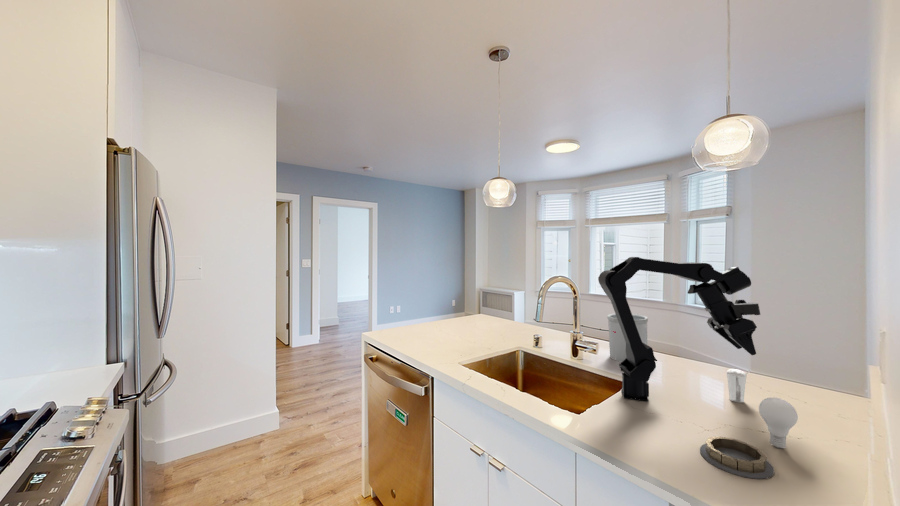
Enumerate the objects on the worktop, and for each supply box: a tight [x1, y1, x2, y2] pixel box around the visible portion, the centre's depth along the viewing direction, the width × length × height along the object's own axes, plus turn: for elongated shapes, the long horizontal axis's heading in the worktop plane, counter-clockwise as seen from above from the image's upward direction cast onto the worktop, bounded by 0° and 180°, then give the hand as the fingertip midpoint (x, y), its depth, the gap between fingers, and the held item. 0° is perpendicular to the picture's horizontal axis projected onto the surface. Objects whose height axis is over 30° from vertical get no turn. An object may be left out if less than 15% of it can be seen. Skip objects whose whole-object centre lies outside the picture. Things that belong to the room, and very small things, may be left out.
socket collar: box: [705, 436, 768, 473], centre depth 73 cm, size 10×10×2 cm
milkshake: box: [726, 368, 750, 404], centre depth 101 cm, size 4×5×10 cm
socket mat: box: [699, 443, 775, 480], centre depth 73 cm, size 12×12×1 cm
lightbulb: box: [758, 396, 799, 449], centre depth 77 cm, size 6×6×11 cm
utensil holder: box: [607, 312, 649, 363], centre depth 141 cm, size 15×15×18 cm
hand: (746, 351), depth 98 cm, fingers open, 9 cm apart
